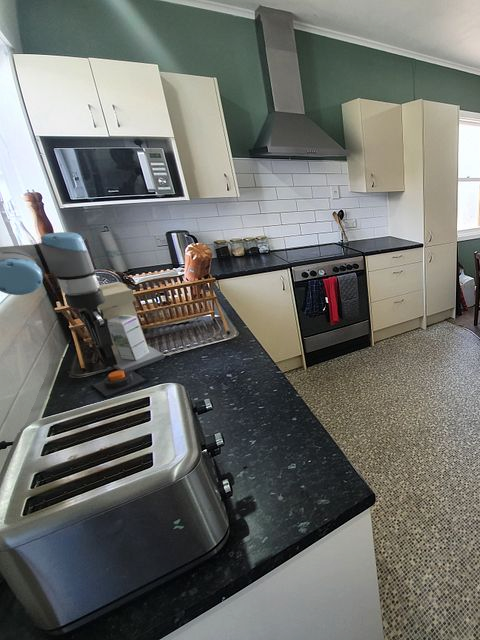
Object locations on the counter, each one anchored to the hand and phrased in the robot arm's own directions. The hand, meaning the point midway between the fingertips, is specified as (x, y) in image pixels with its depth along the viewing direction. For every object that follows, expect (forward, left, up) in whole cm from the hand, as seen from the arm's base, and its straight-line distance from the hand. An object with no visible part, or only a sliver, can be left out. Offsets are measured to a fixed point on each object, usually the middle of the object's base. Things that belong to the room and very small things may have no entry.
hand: (111, 365), depth 104 cm
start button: (0, 0, -5) cm, 5 cm away
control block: (0, 0, -8) cm, 8 cm away
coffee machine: (+9, +15, -8) cm, 19 cm away
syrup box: (+9, +12, -6) cm, 16 cm away
